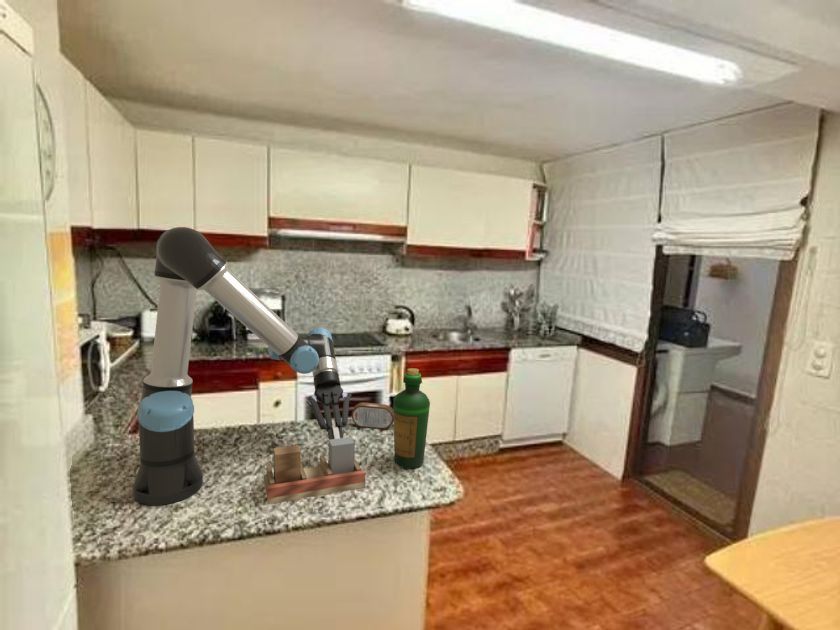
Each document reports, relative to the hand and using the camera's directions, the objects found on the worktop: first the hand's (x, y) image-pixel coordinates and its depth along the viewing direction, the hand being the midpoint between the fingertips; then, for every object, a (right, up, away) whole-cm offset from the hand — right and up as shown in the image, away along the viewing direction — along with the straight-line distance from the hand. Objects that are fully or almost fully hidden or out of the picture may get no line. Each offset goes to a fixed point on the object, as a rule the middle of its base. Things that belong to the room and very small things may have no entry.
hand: (338, 451), depth 123 cm
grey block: (+1, -5, -3) cm, 6 cm away
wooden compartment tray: (-5, -7, -5) cm, 10 cm away
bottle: (+19, -6, +9) cm, 22 cm away
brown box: (-11, -5, -9) cm, 16 cm away
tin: (+6, -2, +33) cm, 34 cm away
